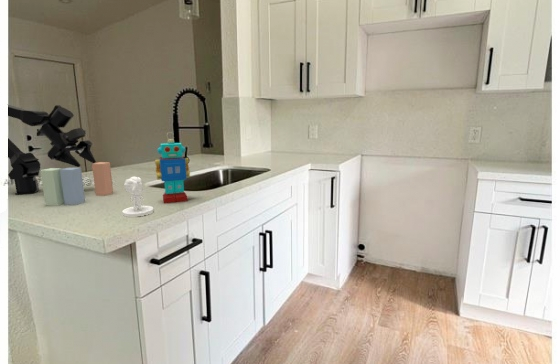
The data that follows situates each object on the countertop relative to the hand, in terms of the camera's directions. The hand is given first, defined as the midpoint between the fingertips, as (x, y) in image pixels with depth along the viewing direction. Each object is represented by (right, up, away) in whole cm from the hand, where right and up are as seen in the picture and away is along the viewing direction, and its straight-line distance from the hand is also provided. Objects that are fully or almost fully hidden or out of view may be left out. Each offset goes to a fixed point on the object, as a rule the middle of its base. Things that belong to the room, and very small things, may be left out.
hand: (87, 164), depth 128 cm
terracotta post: (+6, -12, +2) cm, 13 cm away
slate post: (+2, -15, -11) cm, 18 cm away
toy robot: (+37, -14, -7) cm, 40 cm away
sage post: (-4, -15, -12) cm, 19 cm away
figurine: (+30, -17, -22) cm, 41 cm away
